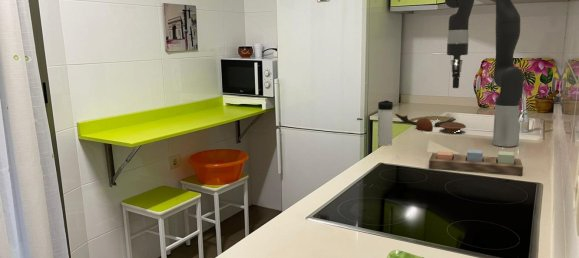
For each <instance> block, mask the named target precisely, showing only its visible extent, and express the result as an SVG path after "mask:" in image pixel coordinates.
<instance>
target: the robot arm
mask: <svg viewBox="0 0 579 258" xmlns="http://www.w3.org/2000/svg"><path fill="white" fill-rule="evenodd" d="M444 2H445V5H446V6H447V7H448V8H450V9H455V8H456V9H457V11H456V13H454V14H451V15H450V16H449V18H448V29H447V30H448V33H447V40H446V41H447V43H446V55H447V56H453V59H452V60H451V61H450V65H451V74H452V75H451V76H452V88H453V89H459V87H460V78H461V72H462V69H463V68H462V66H463V59H461V56H467V55H468V54H469V38H470V37H469V19H470V16H471V13H472V11H473V10H472V9H473V6H474V4H475V0H444ZM518 11H519V10H518V9H517V8H516V7H515V5H514V4H513V1H512V0H495V59H494V60H495V63H494V68H493V69H494V70H493V82H494V84H496V86H497V87H498V88H499V89H500V91H499V95H498V96H497V97H495V102H494V119H493V120H494V121H493V134H492V144H493V145H494V146H498V147H516V146H520V145H519V144H520V143H519V142H520V131H521V130H520V128H521V122H519V113H520V112H519V111H520V102H521V99H522V97H523V90H524V82H525V81H524V79H525V76H524V73H523V71H522V69H520V68H519V67H517V66H514V53H515V50H516V47H517V44H518V41H519V39H520V34H521V16H520V13H519V12H518Z"/></svg>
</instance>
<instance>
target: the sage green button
mask: <svg viewBox="0 0 579 258" xmlns="http://www.w3.org/2000/svg"><path fill="white" fill-rule="evenodd" d="M497 157H498V163H501V164H514V158H515V157H516V156H515V152H514V151H501V150H500V151H497ZM515 159H516V158H515Z"/></svg>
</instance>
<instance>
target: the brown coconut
mask: <svg viewBox="0 0 579 258" xmlns="http://www.w3.org/2000/svg"><path fill="white" fill-rule="evenodd" d="M439 127H440V128H442V129H444V128H445V130H444V132H445V133H446V134H447V133H449V134H455V133H454V132H456V131H458V130H461V129H465V128H467V126H466V125H465V124H464V123H461V122H456V121H455V122H454V121H453V122H446V123H442V124H441V125H440V126H439Z"/></svg>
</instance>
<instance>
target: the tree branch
mask: <svg viewBox="0 0 579 258" xmlns="http://www.w3.org/2000/svg"><path fill="white" fill-rule="evenodd" d="M394 115H395V116H396V117H397V118H398V119H400V120H401V121H402V122H403V123H404V124H411V125H415V126H416V122H417V121H418V120H419V119H423V118H426V119H429V120H430V121H436V120H437V119H438V120H440V121H436V122H435V123H434V125H435V126H434V127H440V125H441V124H442V123H446V122H454V121H455V122H456V121H457V118H455V117H451V116H444V115H443V116H441V115H440V116H439V115H431V116H419V117H414V118H410V119H409V118H408V114H405V115H404V114H403V115H401V114H400V113H394Z"/></svg>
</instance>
